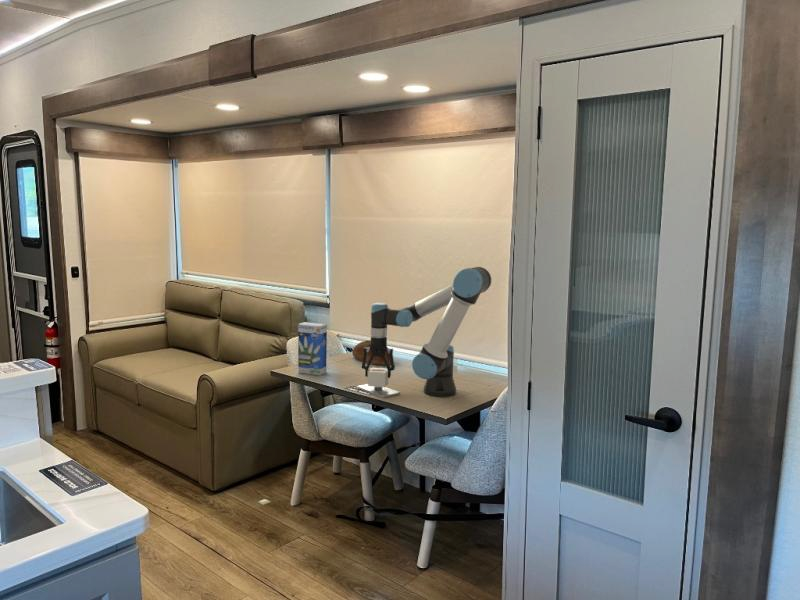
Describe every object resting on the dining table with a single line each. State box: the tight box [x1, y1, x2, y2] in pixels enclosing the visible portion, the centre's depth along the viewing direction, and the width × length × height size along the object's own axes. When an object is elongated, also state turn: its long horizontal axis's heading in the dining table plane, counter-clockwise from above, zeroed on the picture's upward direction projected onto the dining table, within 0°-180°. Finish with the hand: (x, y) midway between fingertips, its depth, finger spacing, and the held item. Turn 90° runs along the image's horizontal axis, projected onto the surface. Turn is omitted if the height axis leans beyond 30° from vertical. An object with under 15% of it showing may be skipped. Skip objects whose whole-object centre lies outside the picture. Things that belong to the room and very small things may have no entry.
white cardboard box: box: [367, 367, 387, 387], centre depth 281 cm, size 8×8×7 cm
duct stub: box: [356, 383, 401, 399], centre depth 281 cm, size 20×10×6 cm, turn 41°
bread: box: [351, 339, 391, 366], centre depth 340 cm, size 16×29×11 cm, turn 41°
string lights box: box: [297, 321, 328, 376], centre depth 311 cm, size 13×8×26 cm, turn 69°
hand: (377, 383), depth 281 cm, fingers closed on white cardboard box, 8 cm apart
